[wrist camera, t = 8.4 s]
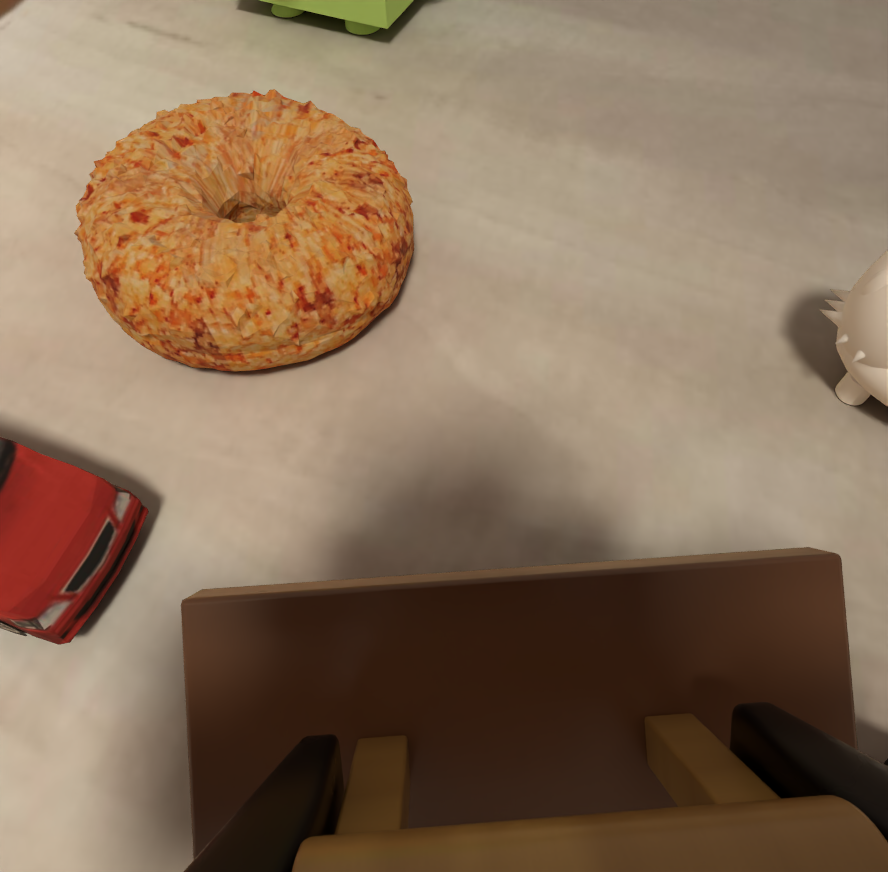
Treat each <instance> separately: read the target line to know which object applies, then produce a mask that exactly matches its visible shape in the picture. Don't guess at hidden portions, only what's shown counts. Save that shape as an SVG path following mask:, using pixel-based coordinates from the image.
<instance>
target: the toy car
mask: <svg viewBox="0 0 888 872" xmlns="http://www.w3.org/2000/svg"><path fill="white" fill-rule="evenodd" d="M147 514H148V509H147V508H146V507H144V506H143V505H142V503H141V501H140V499H138V498H137V497H136V496H135V495H133V494H132V493H131V492H130V491H128V490H126V489H123V488H121V487H118V486H116V485H113V484H111V483H110V482H108V481H106V480H105V479H103V478H101V477H99V476H96V475H94V474H92V473H89V472H87V471H85V470H83V469H80V468H78V467H76V466H73V465H70V464H68V463H65V462H62V461H59V460H56V459H54V458H51V457H48V456H45V455H42V454H40V453H38V452H36V451H33V450H31V449H29V448H27V447H25V446H23V445H20V444H18V443H16V442H14V441H12V440H8V439H5V438H2V437H0V628H2V629H5V630H8V631H10V632H13V633H17V634H20V635H24V636H27V635H26V634H24V633H23V632H26V633H29V634H31V635H32V636H35V637H38V638H41V639H44V640H47V641H50V642H53V643H56V644H64V643H69V642H71V640H72V639H73V638H74V636H75V635H76V634H77V632H78V631H79V630H80V628H81V627H82V626H83V624H84V623H85V622H86V621H87V619H88V618H89V617H90V615H91V614H92V613H93V611H94V610H95V609H96V607H97V606H98V604H99V603H100V601H101V600H102V598H103V596H104V595H105V593H106V592H107V590H108V589H109V587H110V586H111V584H112V583H113V581H114V580H115V578H116V577H117V575H118V573H119V572H120V570H121V568H122V566H123V564H124V562H125V560H126V558H127V556H128V554H129V553H130V551H131V549H132V547H133V545H134V543H135V541H136V539H137V536H138V534H139V532H140V530H141V527H142V525H143V523H144V520H145V518H146V516H147ZM21 631H22V632H21Z"/></svg>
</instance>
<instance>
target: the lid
mask: <svg viewBox="0 0 888 872" xmlns="http://www.w3.org/2000/svg"><path fill="white" fill-rule="evenodd" d="M181 615H182V635H183V655H184V676H185V696H186V716H187V737H188V757H189V777H190V798H191V818H192V838H193V858H194V859H195V858H196V857H197V856H198V855H199V854H200V853H201V852H202V850H203V849H204V848H205V847H206V846H207V845H208V844H209V843H210V841H211V840H212V839H213V838H214V837H215V836H216V835H217V834H218V832H219V831H220V830H221V829H222V828H223V827H224V826H225V825H226V823H227V822H228V821H229V820H230V819H231V818H232V817H233V816H234V814H235V813H236V812H237V811H238V810H239V809H240V808H241V807H242V806H243V804H244V803H245V802H246V801H247V800H248V799H249V798H250V797H251V795H252V794H253V793H254V792H255V791H256V790H257V789H258V788H259V786H260V785H261V784H262V783H263V782H264V781H265V780H266V779H267V777H268V776H269V775H270V774H271V773H272V772H273V771H274V770H275V768H276V767H277V766H278V765H279V764H280V763H281V762H282V761H283V759H284V758H285V757H286V756H287V755H288V754H289V753H290V752H291V750H292V749H293V748H294V747H295V746H296V745H297V744H298V743H299V742H300V740H301V739H303V738H304V737H306V736H314V735H328V734H334V735H335V736H336V737H337V738H338V740H339V745H340V754H341V763H342V773H343V782H344V792H345V793H344V797H343V801H342V805H341V809H340V813H339V817H338V821H337V825H336V829H335V833H334V835H323V836H311V837H309V838H307V839H305V840H304V841H303V842H302V843H301V845H300V847H299V849H298V852H297V854H296V857H295V861H294V864H293V868H292V872H888V842H887V840H886V839H885V837H884V836H883V835H882V833H881V832H880V831H879V829H878V828H877V827H876V826H875V824H874V823H873V822H872V821H871V820H870V819H869V818H868V817H867V816H866V815H865V814H864V813H863V812H862V811H861V810H860V809H859V808H858V807H856V806H855V805H853V804H852V803H851V802H849V801H847V800H845V799H842V798H840V797H837V796H833V795H820V796H807V797H795V798H783V799H781V798H780V797H779V796H778V795H777V794H776V793H775V792H774V791H773V790H772V789H771V788H770V787H769V786H768V785H766V784H765V783H764V782H763V781H762V780H761V779H760V778H759V777H758V776H757V775H756V774H755V773H754V772H753V771H752V770H751V769H750V768H749V767H748V766H747V765H745V764H744V763H743V762H742V761H741V760H740V759H739V758H738V757H737V756H736V755H735V754H734V753H733V752H732V751H731V750H730V738H731V720H732V712H733V709H734V707H735V706H737V705H738V704H742V703H755V702H768V703H771V704H773V705H775V706H777V707H779V708H781V709H783V710H784V711H786V712H788V713H790V714H792V715H794V716H796V717H797V718H799V719H801V720H803V721H805V722H807V723H809V724H810V725H812V726H814V727H816V728H818V729H820V730H822V731H823V732H825V733H827V734H829V735H831V736H833V737H835V738H836V739H838V740H840V741H842V742H844V743H846V744H848V745H849V746H851V747H853V748H855V749H857V750H858V747H857V736H856V724H855V713H854V701H853V690H852V678H851V667H850V655H849V644H848V632H847V621H846V609H845V598H844V586H843V575H842V563H841V558H840V556H839V555H838V554H836V553H832V552H827V551H823V550H818V549H814V548H810V547H804V548H790V549H776V550H761V551H747V552H733V553H718V554H704V555H690V556H675V557H661V558H647V559H632V560H618V561H603V562H589V563H575V564H560V565H546V566H532V567H517V568H503V569H489V570H474V571H460V572H446V573H431V574H417V575H403V576H388V577H374V578H359V579H345V580H331V581H316V582H302V583H288V584H273V585H259V586H245V587H230V588H216V589H202V590H200V591H198V592H196V593H195V594H193V595H191V596H189V597H188V598H186V599H184V600H182V603H181Z"/></svg>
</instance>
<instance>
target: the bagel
mask: <svg viewBox="0 0 888 872" xmlns="http://www.w3.org/2000/svg"><path fill="white" fill-rule="evenodd" d="M94 163H95V166H96V168H95V170H94V171H93V172H92V173H90V176H91V178H92V180H91V181H90V182H89V184H88V185H87V189H86V192H85V194H84V196H83V197H82V198H81V199H80V200H79V203H78V204H77V205H76V210H77V217H78V219H79V220H80V222H81V225H80V226H79V227H78V229H77V230H76V231H75V234H76V235H77V236H78V240H79V241H80V242H81V244H82V249H83V254H84V261H83V263H84V266H85V271H84V274H85V275H86V279H88V280H89V281H91V282H92V285H93V288H94V290H95V292H96V294H97V296H98V299H99V300H100V302H101V303H102V304H103V306H104V307H105V309H106V310H107V312H108V313H109V314H110V316H111V317H112V319H113V320H114V321H116V322H117V323H118V324H119V325H120V326H121V327H122V329H123V330H124V331H125V332H126V333H127V334H128V335H130V336H131V337H132V338H133V339H135V340H136V341H137V342H138V343H140V344H141V345H142V346H144V347H146V348H147V349H149V350H151V351H153V352H155V353H157V354H158V355H160V356H162V357H164V358H166V359H170V360H174V361H178V362H181V363H183V364H186V365H188V366H191V367H196V368H214V369H217V370H223V371H247V370H259V369H265V368H271V367H276V366H281V365H286V364H291V363H296V362H301V361H307V360H310V359H312V358H314V357H316V356H318V355H320V354H322V353H325V352H328V351H330V350H333V349H335V348H338V347H340V346H341V345H343V344H345V343H346V342H348V341H350V340H351V339H353V338H354V337H355V336H356V335H358V334H359V333H360V332H361V331H362V330H363V329H364V328H365V327H366V326H367V325H369V324H370V323H371V322H372V321H373V320H374V319H375V318H376V317H377V316H378V315H379V314H380V313H381V312H382V311H383V310H385V309H386V308H388V307H389V306H390V305H391V304H392V302H393V301H394V299H395V298H396V296H397V295H398V292H399V289H400V287H401V284H402V282H403V280H404V278H405V276H406V273H407V269H408V266H409V263H410V259H411V256H412V253H413V251H414V241H413V213H412V210H411V206H410V205H411V203H412V202H413V201H412V199H411V196H410V194H409V192H408V189H407V179H405V178H403V177H402V176H400V174H399V173H398V171H397V169H396V168H395V166H394V162H392V161H390V160H388V155H387V154H386V152H385V151H381V150H380V149H379V148H378V146H377V145H376V143H375V142H374V140H372V139H371V138H369V137H367V136H366V135H364V134H363V133H362V132H361V130H360V129H358V128H353V127H350V126H349V125H347V124H346V123H345V122H344V121H343V120H341V119H340V118H338V117H336V116H335V115H333V114H331V113H327V112H325V111H322V110H319V109H317V107H316V106H315V105H314V104H313V103H312V102H311V101H309V102H306V103H304V104H303V103H300V102H297V101H294V100H291V99H288V98H285V97H283V96H282V95H281V94H280V93H278V92H277V91H276V90H275V89H274V90H269V92H268V93H267V94H266V95H261V94H259V93H257V92H255V91H253V93H251V94H247V93H231V94H230V95H229V96H228V97H214V98H212V99H204V100H197V103H195V104H190V105H187V104H181V105H180V106H179V107H178V109H174V110H172V111H170V112H168V111H166V110H162V111H159V112H157V116H156V119H155V120H153V121H151V122H149V123H147V124H144V125H143V126H142V127H141V128H140V129H136V130H134V131H132V132H130V134H129V135H128V136H127V137H126V138H123V139H121V140H119V141H117V142H116V147H115V149H114V150H113V151H110V152H107V154H106V157H105V158H103V159H102V160H98V161H94Z"/></svg>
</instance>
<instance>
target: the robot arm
mask: <svg viewBox="0 0 888 872" xmlns="http://www.w3.org/2000/svg"><path fill="white" fill-rule="evenodd" d="M730 750H731V751H732V752H733V753H734V754H735V755H736V756H737V757H738V758H739V759H740V760H741V761H742V762H743V763H744V764H745V765H747V766H748V767H749V768H750V769H751V770H752V771H753V772H754V773H755V774H756V775H757V776H758V777H759V778H760V779H761V780H762V781H763V782H764V783H765V784H766V785H768V786H769V787H770V788H771V789H772V790H773V791H774V792H775V793H776V794H777V795H778V796H779V797H780V798H781V799H783V798H795V797H807V796H820V795H833V796H837V797H840V798H842V799H845V800H847V801H849V802H851V803H852V804H853V805H855V806H856V807H858V808H859V809H860V810H861V811H862V812H863V813H864V814H865V815H866V816H867V817H868V818H869V819H870V820H871V821H872V822H873V823H874V824H875V826H876V827H877V828H878V829H879V831H880V832H881V833H882V835H883V836H884V837H885V839H886V840H887V842H888V766H887V765H885V764H883V763H881V762H879V761H877V760H875V759H874V758H872V757H870V756H868V755H866V754H864V753H862V752H861V751H859V750H857V749H855V748H853V747H851V746H849V745H848V744H846V743H844V742H842V741H840V740H838V739H836V738H835V737H833V736H831V735H829V734H827V733H825V732H823V731H822V730H820V729H818V728H816V727H814V726H812V725H810V724H809V723H807V722H805V721H803V720H801V719H799V718H797V717H796V716H794V715H792V714H790V713H788V712H786V711H784V710H783V709H781V708H779V707H777V706H775V705H773V704H771V703H768V702H755V703H742V704H738V705H737V706H735V707H734V709H733V712H732V720H731V738H730ZM344 793H345V792H344V782H343V773H342V763H341V754H340V745H339V740H338V738H337V737H336V736H335V735H334V734H328V735H314V736H306V737H304V738H303V739H301V740H300V742H299V743H298V744H297V745H296V746H295V747H294V748H293V749H292V750H291V752H290V753H289V754H288V755H287V756H286V757H285V758H284V759H283V761H282V762H281V763H280V764H279V765H278V766H277V767H276V768H275V770H274V771H273V772H272V773H271V774H270V775H269V776H268V777H267V779H266V780H265V781H264V782H263V783H262V784H261V785H260V786H259V788H258V789H257V790H256V791H255V792H254V793H253V794H252V795H251V797H250V798H249V799H248V800H247V801H246V802H245V803H244V804H243V806H242V807H241V808H240V809H239V810H238V811H237V812H236V813H235V814H234V816H233V817H232V818H231V819H230V820H229V821H228V822H227V823H226V825H225V826H224V827H223V828H222V829H221V830H220V831H219V832H218V834H217V835H216V836H215V837H214V838H213V839H212V840H211V841H210V843H209V844H208V845H207V846H206V847H205V848H204V849H203V850H202V852H201V853H200V854H199V855H198V856H197V857H196V858H195V859H194V861H193V862H192V863H191V864H190V865H189V866H188V867H187V868H186V870H185V871H184V872H292V868H293V864H294V861H295V857H296V854H297V852H298V849H299V847H300V845H301V843H302V842H303V841H304V840H305V839H307V838H309V837H311V836H323V835H334V833H335V829H336V825H337V821H338V817H339V813H340V809H341V805H342V801H343V797H344Z"/></svg>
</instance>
